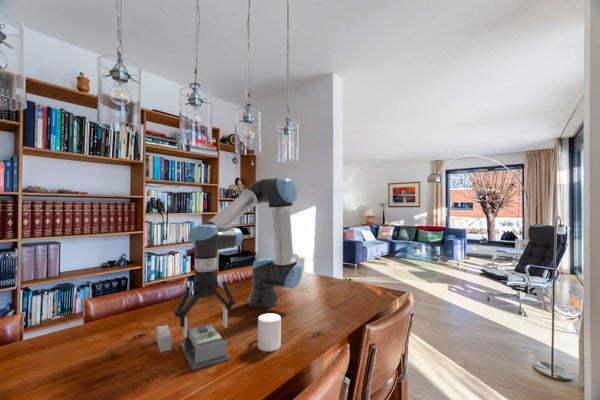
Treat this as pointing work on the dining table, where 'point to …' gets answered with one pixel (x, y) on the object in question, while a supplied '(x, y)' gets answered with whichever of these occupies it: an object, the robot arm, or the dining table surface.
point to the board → (204, 335)
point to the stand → (164, 338)
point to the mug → (269, 332)
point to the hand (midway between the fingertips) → (205, 330)
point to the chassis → (204, 352)
